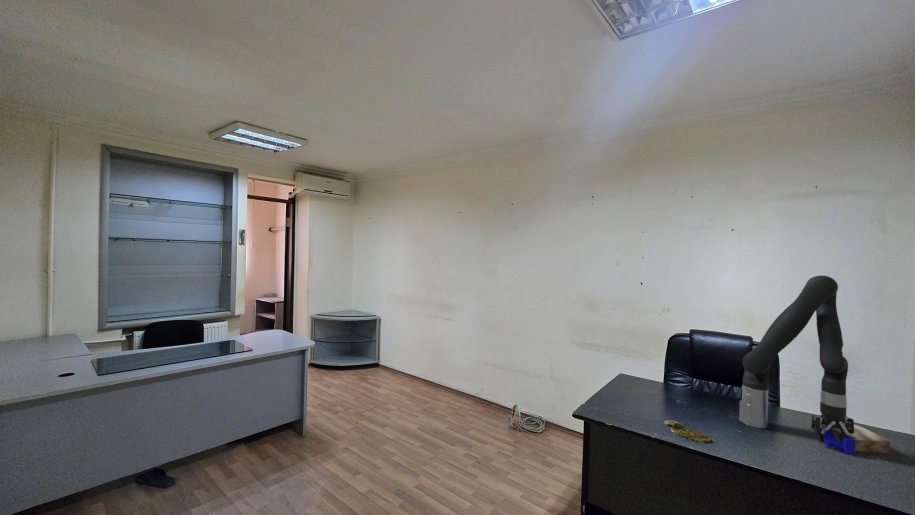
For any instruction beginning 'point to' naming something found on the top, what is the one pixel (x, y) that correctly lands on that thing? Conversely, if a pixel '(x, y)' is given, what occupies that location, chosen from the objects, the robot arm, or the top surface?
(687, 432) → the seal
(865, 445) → the stand
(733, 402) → the top surface
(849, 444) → the cable clip
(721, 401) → the top surface
